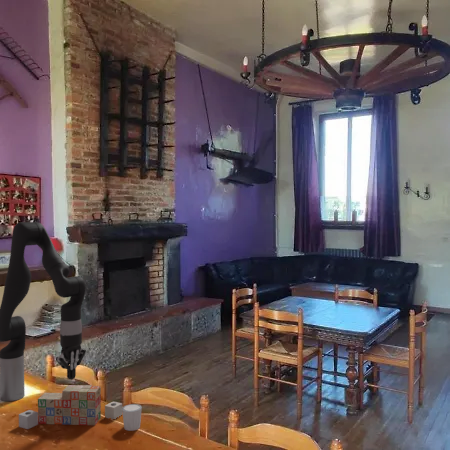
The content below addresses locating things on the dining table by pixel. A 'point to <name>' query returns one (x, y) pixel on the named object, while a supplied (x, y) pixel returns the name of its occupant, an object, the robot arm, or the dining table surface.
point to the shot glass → (131, 416)
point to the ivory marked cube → (113, 410)
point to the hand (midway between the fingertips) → (71, 378)
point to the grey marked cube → (28, 419)
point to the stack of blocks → (71, 406)
